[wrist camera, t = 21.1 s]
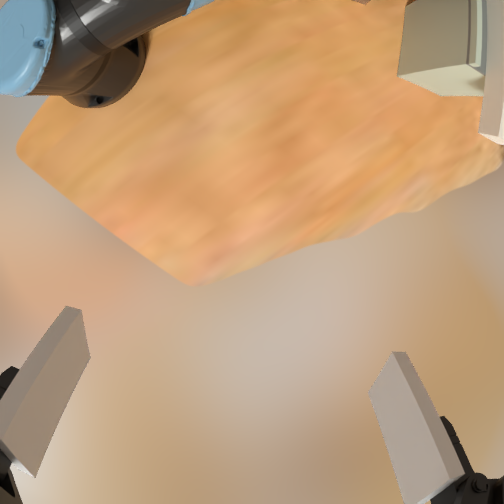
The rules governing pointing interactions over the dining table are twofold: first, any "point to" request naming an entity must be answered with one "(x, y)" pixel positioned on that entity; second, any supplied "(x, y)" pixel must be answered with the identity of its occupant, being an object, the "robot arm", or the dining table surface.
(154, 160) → the dining table surface
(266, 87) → the dining table surface
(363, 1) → the brown wooden block
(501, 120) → the rail
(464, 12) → the grey-green storage box
